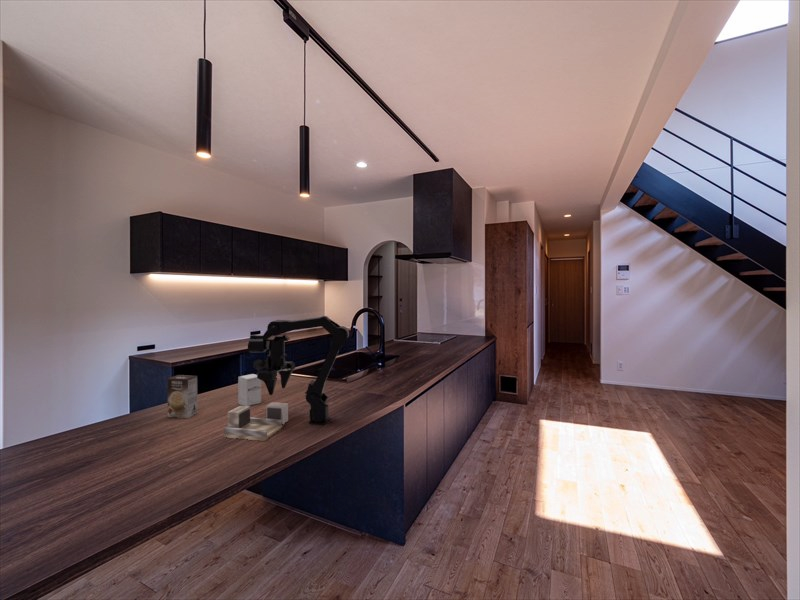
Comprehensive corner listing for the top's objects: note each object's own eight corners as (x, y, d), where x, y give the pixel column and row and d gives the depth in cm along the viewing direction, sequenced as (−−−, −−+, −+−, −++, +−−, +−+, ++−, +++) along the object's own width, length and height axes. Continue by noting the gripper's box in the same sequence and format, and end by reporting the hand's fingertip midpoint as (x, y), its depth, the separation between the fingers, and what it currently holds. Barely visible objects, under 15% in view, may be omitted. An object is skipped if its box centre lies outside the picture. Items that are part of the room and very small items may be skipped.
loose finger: (272, 419, 140) (271, 402, 140) (288, 420, 138) (288, 403, 138) (265, 423, 135) (265, 406, 135) (282, 425, 134) (282, 407, 134)
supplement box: (246, 407, 154) (246, 378, 154) (237, 403, 158) (237, 376, 158) (261, 402, 160) (261, 375, 159) (253, 399, 164) (252, 373, 164)
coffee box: (166, 417, 141) (166, 378, 140) (178, 412, 147) (177, 374, 147) (187, 418, 140) (187, 379, 140) (198, 413, 146) (198, 375, 146)
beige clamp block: (282, 427, 131) (282, 406, 131) (265, 441, 120) (264, 417, 119) (244, 424, 134) (243, 403, 134) (223, 437, 123) (223, 414, 122)
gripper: (271, 347, 147) (271, 384, 147) (243, 355, 129) (244, 397, 129) (295, 348, 145) (295, 385, 145) (271, 356, 127) (271, 399, 127)
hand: (277, 391), depth 137 cm, fingers open, 9 cm apart
